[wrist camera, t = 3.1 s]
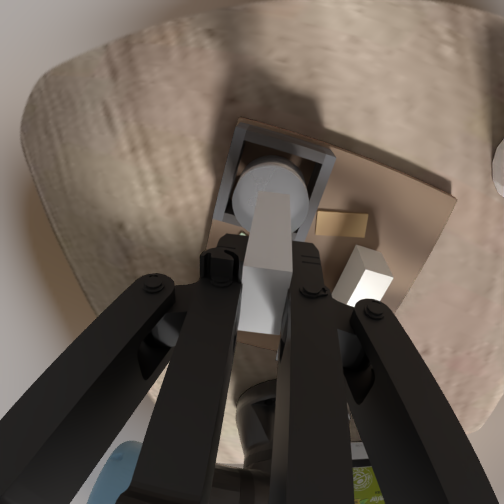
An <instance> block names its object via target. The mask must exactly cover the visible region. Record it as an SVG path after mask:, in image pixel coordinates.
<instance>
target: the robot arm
mask: <svg viewBox="0 0 504 504" xmlns="http://www.w3.org/2000/svg"><path fill="white" fill-rule="evenodd" d="M237 330H241V331H249V332H257V333H265V334H274V335H280V332H281V337H280V342H279V346H278V351H277V355H276V360H277V361H278V368H277V379H276V380H271V381H267V382H264V383H261V384H258V385H256V386H254V387H252V388H250V389H249V390H247V391H246V392H245V393H243V394H242V396H241V397H240V398H239V400H238V403H237V410H236V424H237V428H238V432H239V436H240V441H241V445H242V448H243V452H244V468H243V469H242V468H236V467H231V466H227V465H222V464H218V463H216V458H217V452H218V446H219V440H220V434H221V429H222V423H223V417H224V411H225V405H226V399H227V393H228V388H229V382H230V376H231V370H232V364H233V358H234V352H235V347H236V340H237ZM169 361H170V362H169ZM168 363H169V365H168V368H167V371H166V374H165V377H164V380H163V383H162V386H161V389H160V392H159V395H158V398H157V401H156V404H155V407H154V410H153V413H152V416H151V419H150V422H149V425H148V428H147V431H146V435H145V438H144V441H143V443H141V442H137V441H126V442H124V443H122V444H120V445H119V446H118V447H117V448H116V449H115V450H114V451H113V453H112V454H111V456H110V457H109V459H108V460H107V462H106V464H105V465H104V467H103V469H102V471H101V473H100V474H99V477H98V478H97V481H96V483H95V485H94V487H93V489H92V492H91V494H90V496H89V499H88V502H87V504H355V501H354V482H353V466H352V452H351V440H350V429H349V422H350V416H351V414H352V416H353V419H354V421H355V424H356V427H357V429H358V432H359V434H360V437H361V440H362V442H363V445H364V447H365V450H366V453H367V455H368V458H369V461H370V463H371V466H372V469H373V472H374V474H375V477H376V480H377V482H378V485H379V488H380V491H381V493H382V496H383V499H384V502H385V504H499V502H498V500H497V498H496V495H495V493H494V491H493V489H492V487H491V484H490V482H489V480H488V478H487V476H486V474H485V472H484V469H483V467H482V465H481V464H480V461H479V459H478V457H477V455H476V453H475V451H474V449H473V447H472V445H471V443H470V441H469V440H468V438H467V436H466V434H465V432H464V430H463V428H462V426H461V424H460V423H459V421H458V419H457V417H456V415H455V413H454V412H453V410H452V408H451V406H450V404H449V403H448V401H447V399H446V397H445V396H444V394H443V392H442V390H441V389H440V387H439V385H438V384H437V382H436V380H435V378H434V377H433V375H432V373H431V372H430V370H429V368H428V367H427V365H426V364H425V362H424V360H423V359H422V357H421V355H420V354H419V352H418V351H417V349H416V347H415V346H414V344H413V343H412V341H411V339H410V338H409V336H408V335H407V333H406V332H405V330H404V329H403V327H402V326H401V324H400V322H399V321H398V319H397V318H396V316H395V315H394V313H393V312H392V310H391V309H390V308H389V307H388V306H387V305H386V304H384V303H382V302H381V301H378V300H375V299H367V298H366V299H361V300H359V301H358V302H357V303H356V304H355V306H354V307H353V306H350V305H347V304H344V303H341V302H339V301H337V300H335V299H334V298H332V294H331V292H330V289H329V288H328V287H327V286H325V285H324V279H323V272H322V266H321V260H320V254H319V250H318V249H317V248H316V246H315V245H314V244H313V243H308V242H300V241H292V237H291V212H290V195H289V194H281V193H273V192H265V191H259V192H258V196H257V201H256V206H255V211H254V216H253V220H252V225H251V230H250V235H249V236H245V235H237V234H228V233H226V234H225V235H224V236H222V237H221V238H220V239H219V241H218V244H217V247H216V248H211V249H208V250H206V251H204V252H203V253H202V254H201V255H200V279H199V281H198V282H196V283H193V284H188V285H177V286H174V281H173V280H172V279H171V278H170V277H168V276H166V275H163V274H158V273H156V274H148V275H144V276H142V277H140V278H139V279H137V280H136V281H135V282H134V283H133V284H132V285H131V286H129V287H128V288H127V289H126V290H125V291H124V292H123V293H122V294H121V295H120V296H119V297H118V298H117V299H116V300H115V301H114V302H113V303H112V304H111V305H110V306H109V307H108V308H107V309H105V310H104V311H103V312H102V313H101V314H100V315H99V316H98V317H97V318H96V319H95V320H94V321H93V322H92V324H90V325H89V326H88V327H87V329H85V330H84V331H83V332H82V333H81V334H80V335H79V336H78V337H77V338H76V339H75V340H74V341H73V342H72V344H70V345H69V346H68V347H67V349H66V350H65V351H64V352H63V353H62V354H61V355H60V356H59V357H58V358H57V359H56V360H55V361H54V362H53V363H52V364H51V365H50V366H49V367H48V368H47V369H46V370H45V372H44V373H43V374H42V375H41V376H40V377H39V378H38V379H37V380H36V381H35V382H34V383H33V384H32V385H31V387H30V388H29V389H28V390H27V391H26V392H25V393H24V394H23V396H21V398H20V399H19V400H18V401H17V402H16V403H15V404H14V405H13V406H12V408H11V409H10V410H9V411H8V412H7V413H6V415H5V416H4V417H3V418H2V419H1V420H0V504H70V502H71V501H72V499H73V498H74V497H75V495H76V494H77V492H78V491H79V489H80V488H81V487H82V485H83V484H84V482H85V481H86V479H87V478H88V477H89V475H90V474H91V472H92V471H93V469H94V468H95V467H96V465H97V463H98V462H99V461H100V459H101V458H102V457H103V455H104V453H105V452H106V451H107V449H108V448H109V447H110V445H111V444H112V442H113V441H114V439H115V438H116V437H117V435H118V434H119V432H120V431H121V429H122V428H123V427H124V425H125V424H126V422H127V421H128V419H129V418H130V417H131V415H132V414H133V412H134V411H135V409H136V408H137V406H138V405H139V404H140V402H141V401H142V400H143V398H144V397H145V395H146V394H147V392H148V391H149V390H150V388H151V387H152V385H153V384H154V383H155V381H156V380H157V378H158V377H159V375H160V374H161V373H162V371H163V370H164V368H165V367H166V366H167V364H168ZM350 411H351V413H350Z"/></svg>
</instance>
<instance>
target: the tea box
mask: <svg viewBox="0 0 504 504" xmlns="http://www.w3.org/2000/svg"><path fill="white" fill-rule="evenodd" d="M351 452H352V466H353V482H354V501H355V504H385V502H384V499H383V496H382V493H381V491H380V488H379V485H378V482H377V480H376V477H375V474H374V472H373V469H372V466H371V463H370V461H369V458H368V455H367V453H366V450H365V447H364V445H363V442H351Z"/></svg>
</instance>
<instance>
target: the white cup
mask: <svg viewBox="0 0 504 504" xmlns="http://www.w3.org/2000/svg"><path fill="white" fill-rule="evenodd" d="M492 173H493V181H494V184H495V187H496V189H497V192H498V193H499V194H500V195H501V196H502V197H503V198H504V139H503V140H502V142H501V143H500V144H499V146H498V147H497V149H496V152H495V156H494V159H493V162H492Z"/></svg>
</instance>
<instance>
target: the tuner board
mask: <svg viewBox="0 0 504 504" xmlns="http://www.w3.org/2000/svg"><path fill="white" fill-rule="evenodd" d="M268 155H275V156H281V157H284V158H286V159H288V160H290V161H292V162H293V163H294V164H295V165H296V166H297V167H298V168H299V169H300V171H301V172H302V174H303V177H304V180H305V184H306V188H307V193H308V198H309V209H308V213H307V216H306V218H305V220H304V222H303V223H302V224H301V226H300V227H299V228H298V229H297V230H295V231H294V232H292V233H291V237H292V241H300V242H308V243H313V244H314V245H315V246H316V248H317V249H318V250H319V254H320V260H321V266H322V272H323V279H324V285H325V286H327V287H328V288H329V289H330V292H331V294H332V292H333V290H334V288H335V286H336V284H337V282H338V280H339V278H340V276H341V274H342V272H343V270H344V268H345V266H346V264H347V262H348V260H349V258H350V256H351V254H352V252H353V250H354V248H355V246H356V245H359V246H363V247H366V248H369V249H372V250H375V251H378V252H381V253H382V254H383V257H384V259H385V261H386V263H387V265H388V267H389V269H390V271H391V273H392V275H393V277H394V278H393V280H392V281H391V283H390V285H389V287H388V288H387V290H386V292H385V293H384V295H383V297H382V298H381V300H380V301H381V302H382V303H384V304H386V305H387V306H388V307H389V308H390V309H391V310H392V312H393V313H395V312H396V310H397V309H398V307H399V306H400V304H401V302H402V301H403V299H404V298H405V296H406V294H407V293H408V291H409V290H410V288H411V286H412V285H413V283H414V281H415V280H416V278H417V276H418V275H419V273H420V271H421V269H422V268H423V266H424V264H425V262H426V261H427V259H428V257H429V255H430V253H431V252H432V250H433V248H434V246H435V244H436V242H437V240H438V239H439V237H440V235H441V233H442V231H443V229H444V227H445V225H446V223H447V221H448V219H449V217H450V215H451V213H452V211H453V209H454V207H455V204H456V202H457V199H456V198H455V197H453V196H452V195H451V194H449V193H447V192H445V191H443V190H440V189H438V188H436V187H434V186H432V185H430V184H428V183H426V182H423V181H421V180H419V179H417V178H415V177H412V176H410V175H408V174H406V173H403V172H401V171H399V170H396V169H394V168H391V167H389V166H387V165H384V164H382V163H379V162H377V161H374V160H372V159H369V158H367V157H364V156H361V155H359V154H356V153H354V152H351V151H348V150H345V149H343V148H340V147H337V146H334V145H331V144H329V143H326V142H323V141H320V140H317V139H314V138H311V137H308V136H305V135H302V134H299V133H295V132H292V131H289V130H286V129H282V128H279V127H276V126H272V125H269V124H265V123H262V122H258V121H254V120H251V119H247V118H243V117H240V118H239V119H238V122H237V126H236V127H235V131H234V135H233V138H232V142H231V146H230V150H229V154H228V157H227V161H226V165H225V169H224V173H223V177H222V181H221V185H220V189H219V193H218V197H217V201H216V205H215V210H214V214H213V218H212V219H213V221H212V225H211V229H210V233H209V238H208V242H207V246H206V250H208V249H211V248H216V247H217V244H218V241H219V239H220V238H221V237H222V236H224V235H225V234H226V233H228V234H237V235H245V236H249V235H250V232H248V231H247V230H246V229H245V228H243V227H242V226H241V224H240V223H239V222H238V220H237V219H236V217H235V214H234V211H233V206H232V198H233V193H234V190H235V188H236V185H237V183H238V181H239V178H240V176H241V174H242V172H243V170H244V169H245V167H246V166H247V165H248V164H249V163H250V162H252V161H253V160H255V159H257V158H259V157H262V156H268ZM199 279H200V278H199ZM280 337H281V332H280V335H274V334H265V333H257V332H249V331H241V330H237V340H236V341H237V342H241V343H245V344H249V345H253V346H257V347H261V348H265V349H270V350H274V351H278V346H279V342H280Z"/></svg>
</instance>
